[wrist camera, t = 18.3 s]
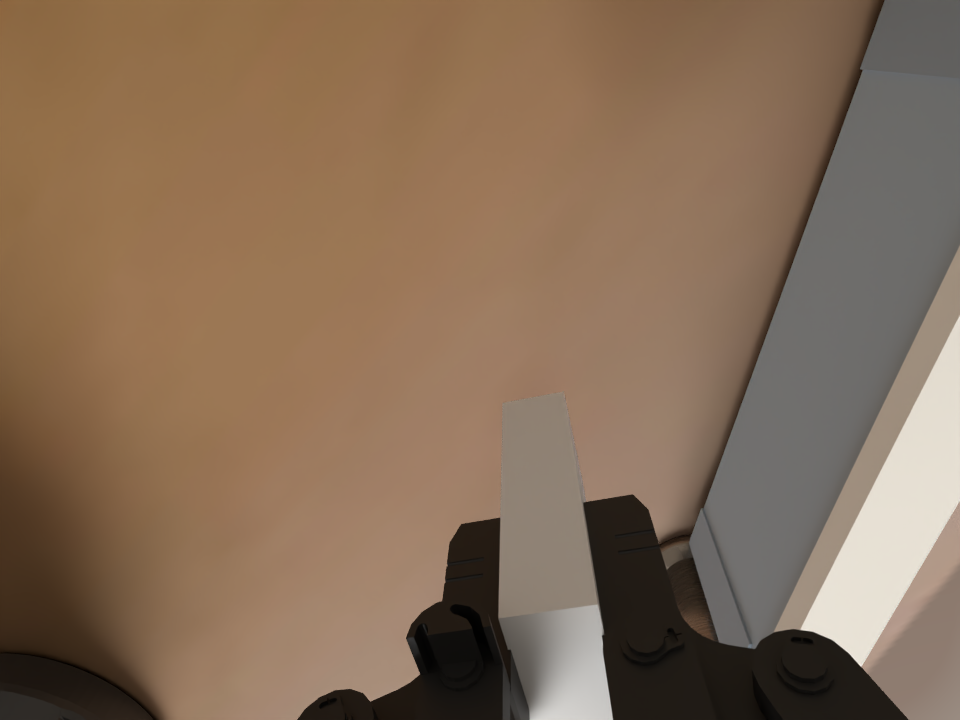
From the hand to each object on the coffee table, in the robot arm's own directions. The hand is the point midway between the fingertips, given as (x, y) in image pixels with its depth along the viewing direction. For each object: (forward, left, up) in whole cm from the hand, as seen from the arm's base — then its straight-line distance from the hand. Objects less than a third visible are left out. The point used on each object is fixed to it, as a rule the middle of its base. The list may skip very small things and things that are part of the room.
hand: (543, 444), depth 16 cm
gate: (+9, 0, -9) cm, 13 cm away
